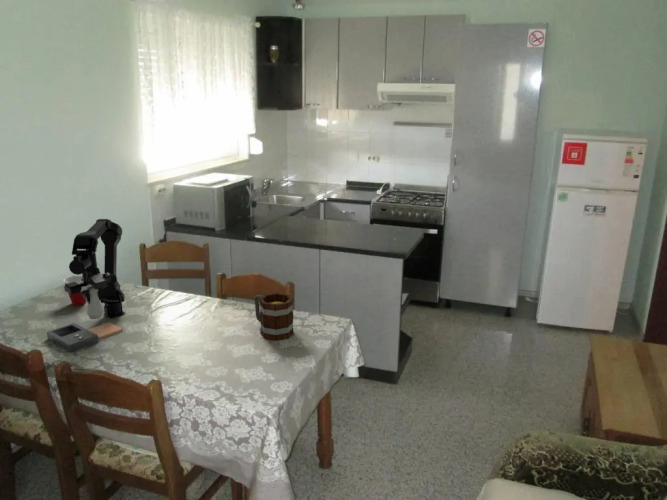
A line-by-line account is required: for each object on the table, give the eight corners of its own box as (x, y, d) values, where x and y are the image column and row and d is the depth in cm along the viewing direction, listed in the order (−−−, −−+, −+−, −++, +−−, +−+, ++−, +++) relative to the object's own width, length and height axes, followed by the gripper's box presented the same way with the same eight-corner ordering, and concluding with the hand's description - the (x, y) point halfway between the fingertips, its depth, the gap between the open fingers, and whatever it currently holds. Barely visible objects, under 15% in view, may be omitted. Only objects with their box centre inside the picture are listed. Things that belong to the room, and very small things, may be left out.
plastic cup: (86, 308, 243) (82, 282, 239) (62, 307, 243) (58, 282, 240) (96, 299, 253) (93, 274, 250) (73, 298, 253) (70, 274, 250)
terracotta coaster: (109, 324, 226) (109, 322, 226) (122, 331, 220) (122, 328, 220) (86, 332, 219) (85, 330, 218) (99, 339, 213) (99, 337, 212)
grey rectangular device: (75, 329, 221) (74, 322, 220) (98, 342, 210) (97, 334, 209) (47, 339, 213) (46, 331, 212) (70, 352, 202) (69, 344, 201)
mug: (300, 333, 219) (300, 298, 215) (275, 344, 210) (274, 308, 206) (269, 319, 232) (268, 286, 228) (243, 329, 223) (242, 295, 218)
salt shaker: (97, 321, 213) (93, 290, 209) (84, 319, 214) (80, 288, 211) (106, 315, 219) (102, 284, 215) (94, 313, 220) (90, 283, 216)
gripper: (75, 276, 198) (80, 316, 203) (122, 264, 212) (126, 301, 217) (61, 270, 205) (66, 308, 210) (107, 258, 219) (112, 294, 224)
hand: (94, 303), depth 215 cm, fingers closed on salt shaker, 3 cm apart
